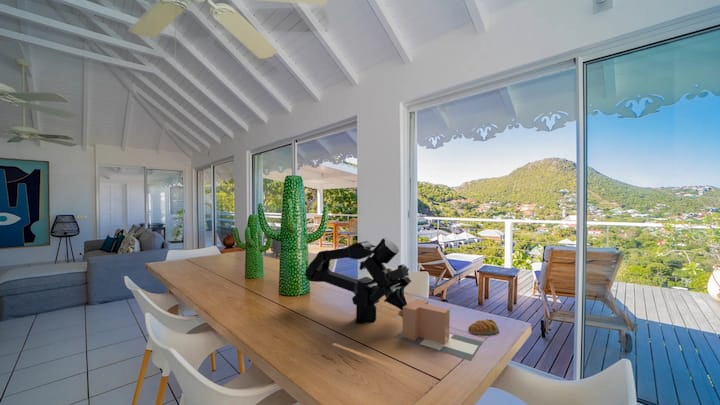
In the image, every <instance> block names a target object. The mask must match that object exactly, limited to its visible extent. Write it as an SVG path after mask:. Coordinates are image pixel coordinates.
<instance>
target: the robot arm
mask: <svg viewBox="0 0 720 405" xmlns="http://www.w3.org/2000/svg"><path fill="white" fill-rule="evenodd" d="M398 253H400V249H399V247H398V245H396V244H395V243H394V242H393V241H391V240H389V239H387V237H384V238H382V239H381V240H380V241H379V243H378V244H377V245H373V244H372V243H370V241H367V240H366V241H360V242H355V243H353V244H350V245H349V246H346V247H343V248H337V249H331V250H330V249H326V250H321V251H319V252H318V253H317V254H316V256H315V257H314V259H312V261H311V262H310V263H309V264H308V265H307V267H306V270H305V278H306V279H307V281H309V282H314V283H326V284H329V285H333V286H335V287H337V288H341V289H343V290H346V291H350V292H351V293H353V294H354V296H353V297H352V298H351V301H352V304H353V305H355V306H356V307H355V308H356V314H355V315H356V316H355V318H356V319H355V324H366V323H368V324H369V323H370V324H371V323H372V324H373V323H375V321H376V320H377V306H376V304H378V303H379V302H380V300H381V299H382V298H383V297H384V296H385V299H384V300H383V301H384V303H388V304H390V305H392V306H394V307H396V308H398V309H399V310H403V307H404V306H405V305H407V304H408V303H407V300H406V296H405V294H404V293H405V288H406V287H407V286H408V285H409V284H410V283H411V282H412V280H411V279H410V278H409V275H410V274H409V269H410V268H409V267H408V266H407V265H406V264H404V263H401V264H400V265H397V269H394V270H392V269H391V268H390V267H389V268H387V267H386V266H385V264H388V263H390V262H391V260H393V258H395V257H396V256H397V255H398ZM340 259H351V260H362V259H365V260H363V261H360V262H359V263H360V265H359V270H360V271H362V270H366V271H367V272H368V274H369V275H370V277H372V278H370V277H368V276H364V277H362V278H358V279H356V278H353V277H350V276H346V275H343V274H341V273H337V272H335V271H331V269H330V264H331V263H330V261H331V260H332V261H333V260H340Z"/></svg>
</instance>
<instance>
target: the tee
mask: <svg viewBox="0 0 720 405" xmlns="http://www.w3.org/2000/svg"><path fill="white" fill-rule="evenodd" d="M450 310H451V309H450V308H447V307H441V306H436V305H432V304H429V300H424V299H419V298H415V299H414V300H412V301H410V302H408V303H407V305H405V306H404V307H403V316H402V330H401V331H402V337H404V338H408V339H411V340H414V341H415V340H416V339H417V338H418V337H421V338H424V339H428V340H431V341H434V342H438V343H441V344H446V343H447V341H448V340H449V333H450V321H451V320H450V317H451V316H450V314H451V312H450Z"/></svg>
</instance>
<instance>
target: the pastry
mask: <svg viewBox="0 0 720 405" xmlns="http://www.w3.org/2000/svg"><path fill="white" fill-rule="evenodd" d="M468 332H469V333H471V334H473V335H479V336H481V335H482V336H483V335H484V336H485V335H487V336H488V335H493V334H494V335H495V334H499V333H500V329H499V327H498V325H497V323H496V321H494V320H493V319H488V318H486V319H482V320H476V321H475V322H474V323H472V324H470V325H469V326H468Z"/></svg>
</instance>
